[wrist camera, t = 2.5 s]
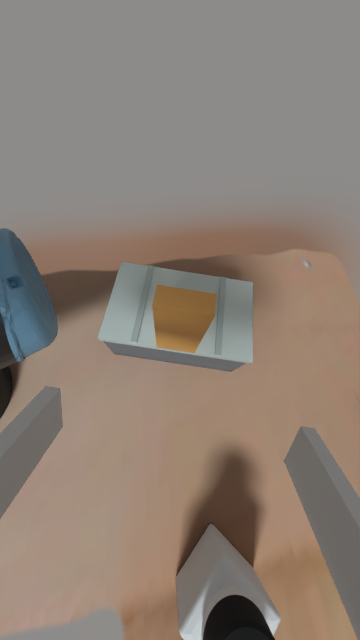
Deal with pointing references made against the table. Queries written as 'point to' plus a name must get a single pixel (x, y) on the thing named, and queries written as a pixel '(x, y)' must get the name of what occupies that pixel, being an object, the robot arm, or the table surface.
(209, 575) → the medicine bottle
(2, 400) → the robot arm
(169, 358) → the tub
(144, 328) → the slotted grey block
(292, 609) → the table surface
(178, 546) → the table surface
